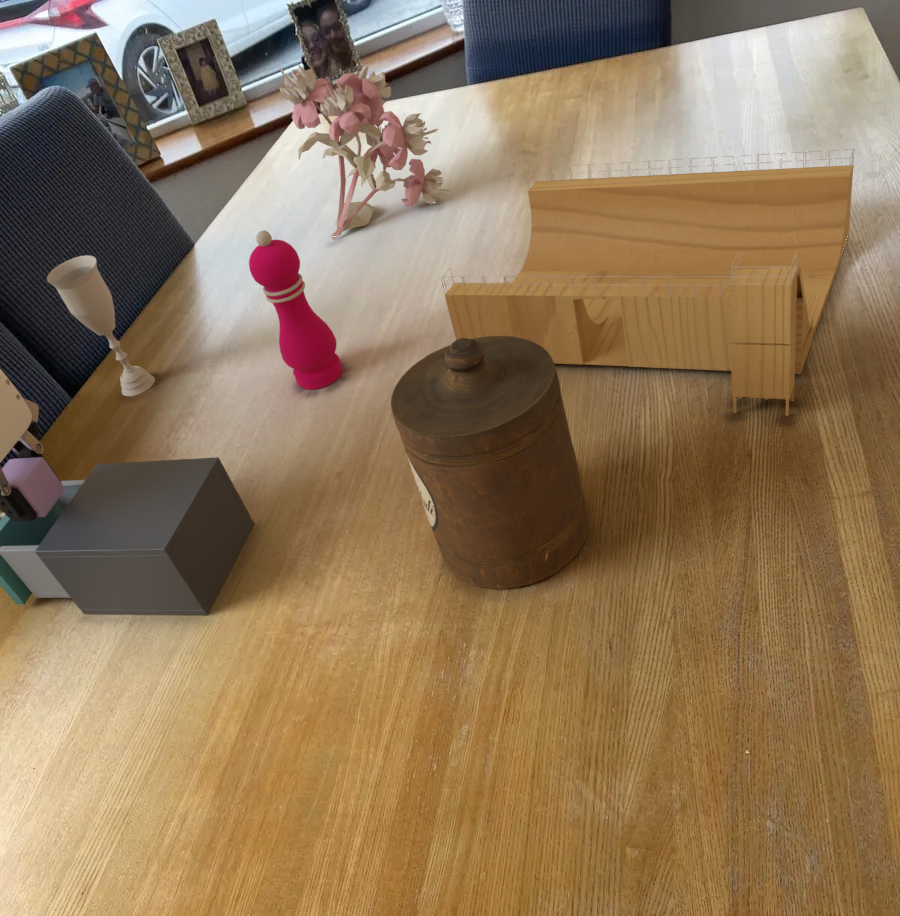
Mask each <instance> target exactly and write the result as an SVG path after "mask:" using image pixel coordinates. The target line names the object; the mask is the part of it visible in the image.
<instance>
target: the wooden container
mask: <svg viewBox="0 0 900 916" xmlns="http://www.w3.org/2000/svg"><path fill="white" fill-rule="evenodd" d="M390 410H391V413H392V417H393V420H394V423H395V426H396V428H397V431H398V434H399V437H400V439H401V441H402V444H403V448H404V451H405V454H406V457H407V460H408V463H409V466H410V469H411V472H412V475H413V478H414V481H415V484H416V487H417V491H418V494H419V497H420V500H421V503H422V505H423V508H424V512H425V514H426V517H427V520H428V523H429V525H430V528H431V530H432V533H433V535H434V537H435V540H436V543H437V545H438V549H439V551H440V554H441V556H442V558H443V560H444V563H445V565H446V567H447V568H448V569H449V571H450V572H452V574H453V575H454V576H456V577H457V578H458V579H460V580H461V581H464V582H465V583H467V584H470V585H472V586H476V587H480V588H484V589H493V590H506V589H515V588H520V587H525V586H528V585H533V584H535V583H537V582H541V581H543V580H545V579H547V578H549V577H552V576H553V575H554V574H556V573H558V572H560V571H561V570H563V569H564V567H567V565H568V564H569V563H571V562H572V561H573V559H575V557H576V556H577V555H578V554H579V552H580V551H581V550H582V548H583V546H584V544H585V542H586V540H587V538H588V534H589V526H590V525H589V517H588V509H587V505H586V500H585V495H584V492H583V484H582V479H581V475H580V474H581V473H580V470H579V465H578V461H577V457H576V452H575V449H574V448H575V447H574V444H573V440H572V436H571V433H570V432H571V431H570V429H569V428H570V427H569V423H568V418H567V414H566V410H565V405H564V400H563V397H562V391H561V384H560V379H559V375H558V371H557V368H556V365H555V363H554V362H553V359H552V357H551V356H550V354H549V353H548V352H547V351H546V350H545V349H544V348H543V347H541V346H540V345H538V344H536V343H534V342H532V341H529V340H526V339H522V338H518V337H512V336H486V337H479V338H473V339H468V338H461V339H458V340H456V339H455V340H454V341H453V342H452V343H451V344H449V345H447V346H444V347H442V348H440V349H438V350H436V351H434V352H431V353H430V354H427V355H426V356H424V357H422V358H421V359H420V360H418V361H417V362H416V363H415V364H412V366H411V367H410V368H409V369H408V370H406V371H405V372H404V373H403V374H402V376H401V377H400V379H399V380H398V381H397V383H396V385H395V387H394V388H393V392H392V393H391V399H390Z"/></svg>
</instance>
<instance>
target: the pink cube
mask: <svg viewBox="0 0 900 916" xmlns="http://www.w3.org/2000/svg"><path fill="white" fill-rule="evenodd" d="M43 457H44V456H43ZM43 457H37V458H20V459H17V458H9V459H8V461H7V462H6V463H5V464H4V465H3V467H1V469H2V471H3V473H4V475H5V477H6V479H7V481H8V483H9V485H10V487H11V489H12V488H17V489H18V490H19V491H20V492H21V494H22V495H23V496H24V498H25V499H26V500H27V502H28V503H29V504H30V506H31V507H32V508H33V510H34V511H35V512H36V514H37V517H45V516H46V515H47V514H48V512H49V511H50V509H51V508H52V507H53V505H54V504H55V503H56V501H57V500H58V498H59V497H60V496H61V494H62V493H63V492H64V490H65V488H64V486H63V485H62V483H61V482H60V481H61V480H60V481H59V479H60V478H59V477H58V478H59V479H58V478H57V476H58V475H57V474H56V472H55V471H54V470H53V471H54V472H55V473H54V472H53V471H52V469H53V468H52V467H51V468H52V469H51V468H50V466H51V465H50V464H49V463H48V464H49V465H50V466H49V465H48V464H47V462H48V461H47V460H46V461H47V462H46V461H45V459H46V458H45V457H44V458H45V459H44V458H43ZM55 474H56V475H57V476H56V475H55Z"/></svg>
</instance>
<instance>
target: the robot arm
mask: <svg viewBox="0 0 900 916" xmlns="http://www.w3.org/2000/svg"><path fill="white" fill-rule="evenodd" d="M39 411H40V408H39V405H38V404H37V403H36V402H34V401H31V400H28V399H26V398H24V397H23V396H22V394H21V393H20V392H19V390H18V389H17V388H16V386H15V385H14V384H13V383H12V381H11V380H10V379H9V377H8V376H7V375H6V374H5V373H4V371H3V370H2V369H1V368H0V464H1V463H2V462H3V461H4V459H5V458H6V457H7V455H8V454H9V453H10V452H11V451H12V452H14V454H16V455H17V458H16V459H20V458H37V457H43V458H44V459H45V461H46V462H47V464H48V465H49V466H50V468H51V469H52V471H53V472H54V473H55V475H56V476H57V478H58V479H59V481H60V482H61V481H62V480H61V479H60V478H59V476H58V475H57V474H56V471H54V469H53V467H52V466H51V465H50V463H49V462H48V461H47V459H46V458H45V456H44V455H43V453H44V446H43V444H42V443H41V442H40V428H39V425H38V422H39ZM0 509H1V511H2V512H3V513H5V514H6V516H7V517H8V518H10V519H11V520H12V521H34V520H35V519H36V518H37V514H36V512H35V511H34V510H33V508H32V507H31V506H30V504H29V503H28V502H27V500H26V499H25V498H24V496H23V495H22V494H21V492H20V491H19V490H18V489H17V488H12V489H11V487H10V485H9V483H8V481H7V479H6V477H5V475H4V473H3V471H2V467H1V466H0Z"/></svg>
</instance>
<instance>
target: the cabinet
mask: <svg viewBox="0 0 900 916" xmlns="http://www.w3.org/2000/svg"><path fill="white" fill-rule="evenodd" d="M84 480H85V481H84V483H83V484H82V485H81V487H80V488H79V490H78V491H77V493H76V494H75V495H74V497H73V498H72V500H71V501H70V502H69V504H68V505H67V507H66V508H65V509H64V511H63V512H62V514H61V515H60V516H59V518H58V519H57V521H56V522H55V524H54V525H53V526H52V528H51V529H50V531H49V532H48V533H47V535H46V536H45V538H44V539H43V540H42V542H41V543H40V545H39V546H38V547H37V549H36V550H35V553H36V554H37V555H38V556H39V558H40V559H41V561H42V562H43V563H44V564H45V566H46V567H47V568H48V569H49V571H50V572H51V573H52V575H53V576H54V577H55V578H56V580H57V581H58V582H59V583H60V585H61V586H62V587H63V588H64V590H65V591H66V592H67V594H68V595H69V596H70V597H71V598H70V599H71V600H72V601H73V603H75V605H76V607H77V608H78V609H79V610H80V612H81V613H82V614H83V615H130V616H131V615H132V616H133V615H137V616H139V615H140V616H141V615H142V616H143V615H144V616H147V615H148V616H208V615H209V613H210V611H211V608H212V607H213V605H214V603H215V601H216V599H217V597H218V595H219V594H220V592H221V589H222V587H223V585H224V584H225V581H226V580H227V578H228V577H229V574H230V572H231V570H232V568H233V566H234V564H235V562H236V560H237V559H238V556H239V554H240V553H241V551H242V549H243V547H244V545H245V543H246V541H247V539H248V538H249V535H250V533H251V531H252V530H253V527H254V526H255V522H254V521H253V519H252V517H251V515H250V512H249V511H248V509H247V508H246V505H245V503H244V502H243V500H242V498H241V496H240V494H239V492H238V491H237V488H236V487H235V485H234V483H233V481H232V479H231V478H230V475H229V474H228V472H227V471H226V468H225V466H224V464H223V463H222V461H221V459H220V457H219V456H218V457H217V456H215V457H200V458H199V457H198V458H180V459H164V460H161V459H160V460H146V461H145V460H144V461H126V462H125V461H124V462H112V463H111V462H109V463H96V464H95V466H94V467H93V468H92V470H91V471H90V473H88V475H87V477H86V478H85V479H84Z"/></svg>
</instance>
